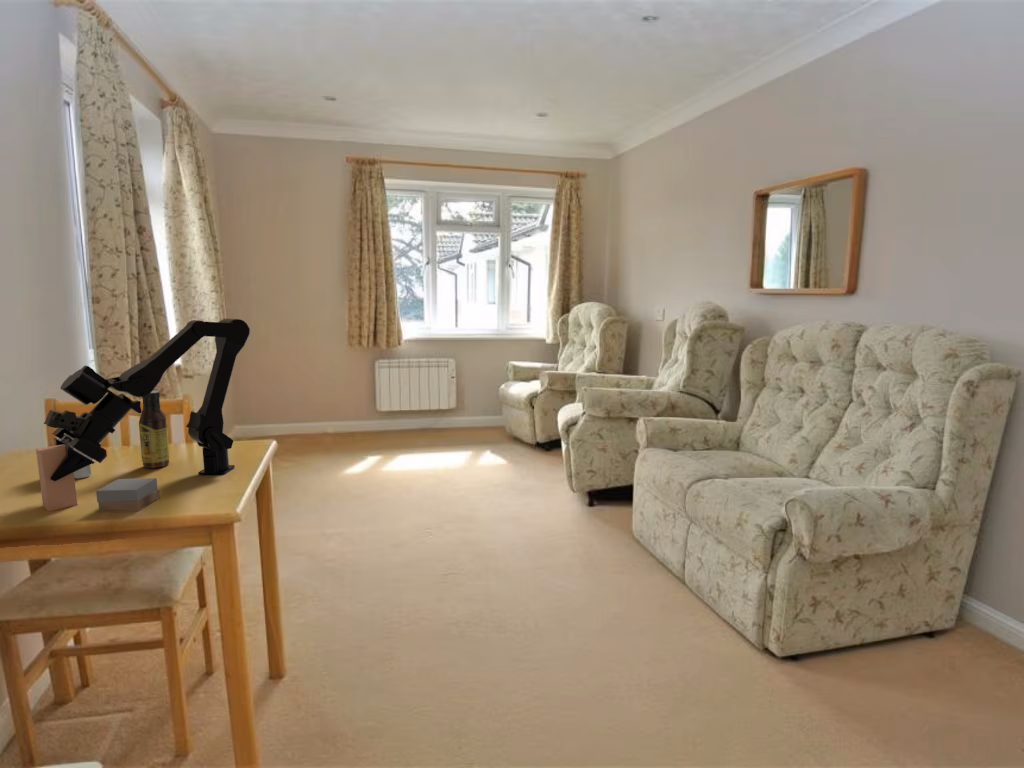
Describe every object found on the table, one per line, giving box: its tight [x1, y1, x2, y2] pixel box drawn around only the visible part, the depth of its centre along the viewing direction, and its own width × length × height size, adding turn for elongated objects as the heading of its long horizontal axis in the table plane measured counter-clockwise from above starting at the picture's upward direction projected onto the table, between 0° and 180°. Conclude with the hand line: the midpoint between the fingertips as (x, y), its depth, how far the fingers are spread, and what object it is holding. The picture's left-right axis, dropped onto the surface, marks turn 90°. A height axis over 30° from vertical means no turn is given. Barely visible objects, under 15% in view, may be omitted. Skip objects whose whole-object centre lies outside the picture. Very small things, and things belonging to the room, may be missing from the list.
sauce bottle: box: [138, 390, 170, 469], centre depth 154 cm, size 7×6×20 cm
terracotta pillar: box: [35, 444, 78, 512], centre depth 126 cm, size 5×5×12 cm
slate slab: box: [95, 477, 158, 503], centre depth 127 cm, size 8×8×2 cm
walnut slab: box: [97, 489, 161, 513], centre depth 127 cm, size 8×8×2 cm
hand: (48, 476), depth 125 cm, fingers open, 6 cm apart
